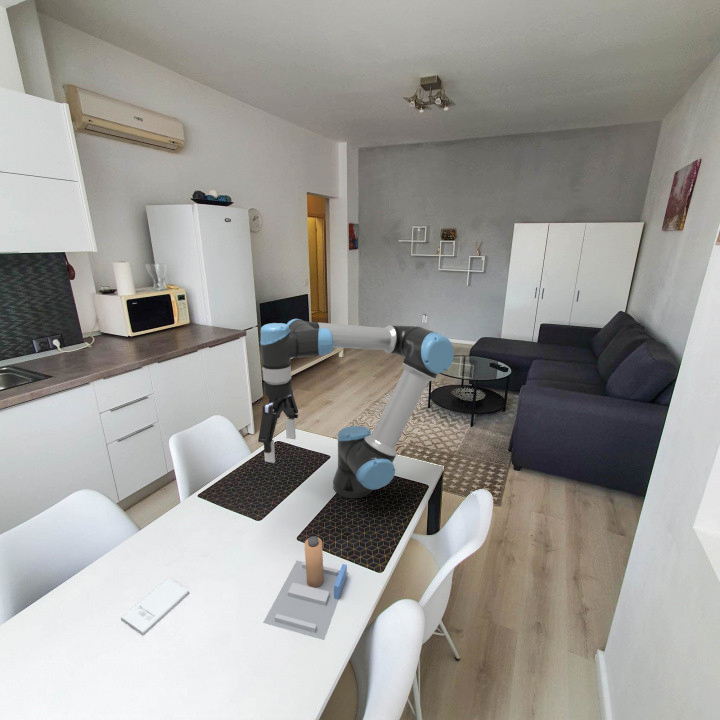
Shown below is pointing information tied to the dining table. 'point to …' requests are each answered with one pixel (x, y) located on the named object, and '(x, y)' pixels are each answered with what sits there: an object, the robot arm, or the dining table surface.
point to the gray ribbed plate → (307, 601)
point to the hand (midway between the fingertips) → (281, 449)
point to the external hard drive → (155, 606)
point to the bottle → (314, 562)
